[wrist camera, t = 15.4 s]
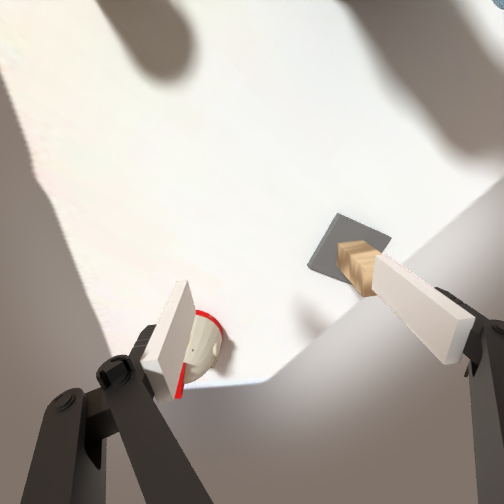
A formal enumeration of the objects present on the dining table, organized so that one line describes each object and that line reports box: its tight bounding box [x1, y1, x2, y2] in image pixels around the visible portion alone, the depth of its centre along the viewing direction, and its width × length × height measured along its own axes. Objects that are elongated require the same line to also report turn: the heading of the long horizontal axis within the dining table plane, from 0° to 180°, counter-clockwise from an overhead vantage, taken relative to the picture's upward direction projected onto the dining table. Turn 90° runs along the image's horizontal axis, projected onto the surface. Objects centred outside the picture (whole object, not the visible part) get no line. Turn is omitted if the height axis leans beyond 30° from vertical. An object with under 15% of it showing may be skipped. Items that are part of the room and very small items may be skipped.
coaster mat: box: [307, 213, 391, 285], centre depth 47 cm, size 12×12×2 cm
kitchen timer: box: [175, 310, 222, 399], centre depth 48 cm, size 14×14×15 cm
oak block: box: [337, 240, 383, 297], centre depth 41 cm, size 5×5×11 cm
